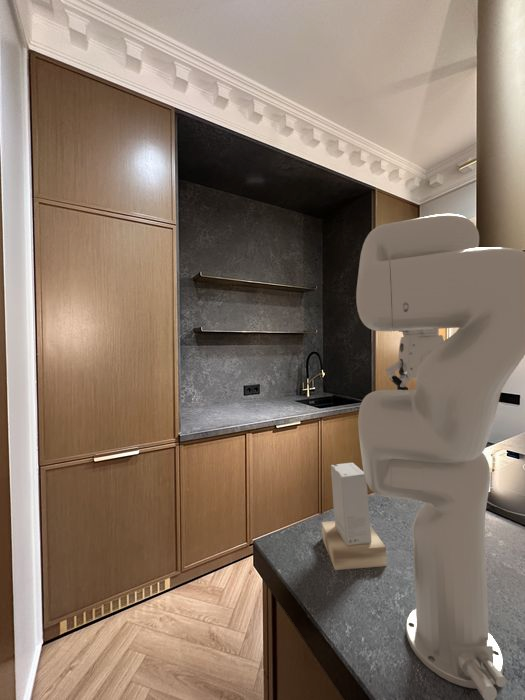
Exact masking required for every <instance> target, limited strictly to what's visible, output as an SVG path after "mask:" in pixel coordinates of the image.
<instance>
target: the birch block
mask: <svg viewBox="0 0 525 700" xmlns="http://www.w3.org/2000/svg"><path fill="white" fill-rule="evenodd" d="M370 529H371V543H370V544H355V545H346V543H345V542H344V540H343V539H342V537H341V535H340V534H339V532H338V530H337V529H336V527H335V520H329V521H321V539H322V541H323V544H324V547H325V548H326V552H327V554H328V557H329V558H330V561H331V564H332V567H333V569H334V571H339V570H351V569H352V570H353V569H366V568H368V569H369V568H377V567H379V568H380V567H386V566H387V548H386V546H385V544H384V543H383V541H382V540H381V538H380V537H379V535H378V534H377V532H376V531H375V530H374V528H373V527H372V525H370Z"/></svg>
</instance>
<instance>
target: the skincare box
mask: <svg viewBox="0 0 525 700" xmlns="http://www.w3.org/2000/svg"><path fill="white" fill-rule="evenodd" d="M330 475H331V487H332V488H331V489H332V500H333V501H332V503H333V504H332V505H333V515H334V516H333V517H334V521H335V527H336V529H337V530H338V532H339V534H340V535H341V537H342V539H343V540H344V542H345V543H346V545H355V544H370V543H371V529H370V526H371V521H370V519H371V518H370V507H369V505H370V504H369V496H368V495H369V494H368V493H369V492H368V485H367V482H366V480H365V476H364V471H363V469H362V468H361V469H360V467H359V466H357V465H356V464H355V463H354V462H344V463H338V464H337V463H336V464H331V465H330Z"/></svg>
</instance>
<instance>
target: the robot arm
mask: <svg viewBox="0 0 525 700" xmlns="http://www.w3.org/2000/svg"><path fill="white" fill-rule="evenodd" d="M479 245H480V233H479V230H478V228H477V226H476V225H475V223H474V222H473V221H471V220H470V219H469V218H467V217H465V216H464V215H460V214H454V213H442V214H434V215H433V214H432V215H428V216H427V215H426V216H424V217H423V216H422V217H417V218H412V219H406V220H402V221H396V222H390V223H383V224H380V225H378V226H376V227H375V228H374V229H373V228H372V230H371V231H370V232H369V233H368V234H367V236H366V238H365V240H364V242H363V244H362V248H361V251H360V255H359V256H360V258H359V266H358V274H357V284H356V291H355V292H356V294H355V295H356V296H355V297H356V298H355V299H356V308H357V314H358V317H359V319H360V320H361V322H362V324H363V325H364V326H365V327H366V328H368V329H370V330H372V331H376V332H388V333H389V332H398V333H402V335H403V336H402V337H400V341H399V345H398V346H399V347H398V357H397V358H398V359H397V362H395V363H393V364H392V365H390V366H387V368H385V372H386V373H387V375H388V377H389V380H390V381H391V382H392V383H393V384H394V386H396V388H397V389H381V390H375V391H372V392H370V393H368V394H366V395H365V396H364V397H363V399H362V401H361V403H360V405H359V410H358V415H357V416H358V417H357V418H358V420H357V422H358V423H357V424H358V438H359V447H360V455H361V462H362V463H361V464H362V471H363V472H364V476H365V480H366V482H367V487H368V488H369V489H370V491H372V493H374V494H376V495H379V496H382V497H385V498H386V497H387V498H393V499H394V498H395V499H400V500H401V499H402V500H409V501H418V502H422V503H424V504H423V506H421V508H420V509H419V510H418V512H417V513H416V516H415V517H414V521H413V524H412V544H413V549H412V550H413V566H414V567H413V568H414V569H413V570H414V571H413V573H414V591H415V592H414V593H415V609H413V610H411V612H410V613H409V614H408V615H407V618H406V622H405V629H406V632H405V633H406V637H407V640H408V643H409V645H410V647H411V649H412V651H413V652H414V654H415V655H416V657H417V658H418V659H419V660H420V661H421V662H422V664H423V665H425V666H426V667H427V668H428V669H429V670H431V672H433V673H434V674H436V675H437V676H438V677H441V678H442V679H444V680H446V681H447V682H449V683H453V684H454V685H457V686H461V687H464V688H468V689H477V691H478V692H479V694H480V696H482V699H483V700H496V698H497V696H498V691H497V689H496V687H495V685H496V686H497V687H498V688H503V687H505V686H506V685H507V679H506V678H505V676H504V674H503V673H504V657H503V654H502V652H501V649H500V647H499V645H498V643H497V642H496V640H495V639H494V638H493V636H492V635H491V634H490V633H489V632H490V631H489V629H490V628H489V607H488V606H489V605H488V586H487V585H488V583H487V581H488V580H487V558H486V528H485V527H486V514H487V513H486V512H487V505H488V503H487V502H488V498H489V490H490V485H491V468H490V464H489V461H488V459H487V457H486V455H485V454H484V453H483V452H484V450H485V448H486V446H487V444H488V442H489V439H490V434H491V432H492V429H493V424H494V420H495V417H496V413H497V410H498V405H499V401H500V397H501V394H502V391H503V388H504V386H505V385H506V384H507V382H508V380H509V379H510V377H511V376H512V374H513V373H514V371H515V370H516V369H517V367H518V366H519V364H520V363H521V361H522V360H523V359H524V357H525V251H524V250H520V249H516V248H510V247H501V246H500V247H499V246H498V247H497V246H496V247H494V246H493V247H479ZM454 328H458V329H457V330H456V331H455V332H454V333H453V334H452V335H450V336H449V337H448V338H446V339H444V336H443V335H442V334H441V335H440V333H439V329H454ZM396 371H398V375H399V376H397V375H396ZM411 380H415V381H416V382H415V389H409V388H408V387H407V384H408V383H409V382H410V381H411Z"/></svg>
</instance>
